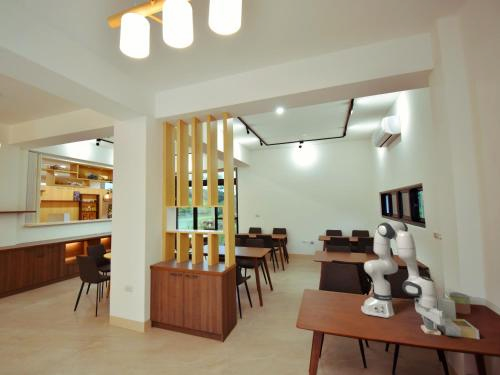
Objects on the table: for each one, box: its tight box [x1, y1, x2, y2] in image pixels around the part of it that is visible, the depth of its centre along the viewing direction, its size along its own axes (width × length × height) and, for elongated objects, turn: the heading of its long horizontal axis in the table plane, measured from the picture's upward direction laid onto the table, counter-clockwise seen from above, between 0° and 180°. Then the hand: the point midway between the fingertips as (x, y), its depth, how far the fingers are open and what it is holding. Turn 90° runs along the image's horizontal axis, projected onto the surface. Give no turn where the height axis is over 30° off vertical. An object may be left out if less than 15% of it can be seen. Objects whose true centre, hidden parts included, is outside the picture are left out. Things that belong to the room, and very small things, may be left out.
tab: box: [420, 324, 442, 336], centre depth 150 cm, size 8×7×2 cm
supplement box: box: [437, 297, 457, 319], centre depth 169 cm, size 7×7×13 cm
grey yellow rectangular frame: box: [437, 318, 480, 340], centre depth 150 cm, size 17×14×5 cm
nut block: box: [423, 318, 438, 330], centre depth 151 cm, size 5×5×5 cm
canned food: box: [449, 291, 471, 315], centre depth 178 cm, size 11×11×12 cm
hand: (430, 325), depth 151 cm, fingers closed on nut block, 6 cm apart
